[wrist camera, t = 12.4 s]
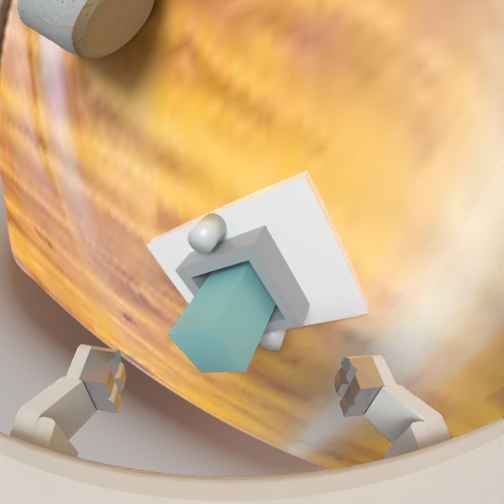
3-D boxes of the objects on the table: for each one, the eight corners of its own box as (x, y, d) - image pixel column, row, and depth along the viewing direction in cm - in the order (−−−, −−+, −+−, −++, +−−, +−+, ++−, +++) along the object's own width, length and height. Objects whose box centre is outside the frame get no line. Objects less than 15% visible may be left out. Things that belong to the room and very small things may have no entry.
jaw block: (257, 252, 24) (211, 328, 18) (281, 292, 25) (246, 371, 19) (217, 264, 26) (167, 334, 20) (241, 300, 27) (201, 372, 21)
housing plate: (306, 167, 20) (293, 188, 17) (369, 305, 25) (365, 339, 22) (152, 236, 29) (128, 258, 26) (221, 331, 33) (206, 357, 30)
